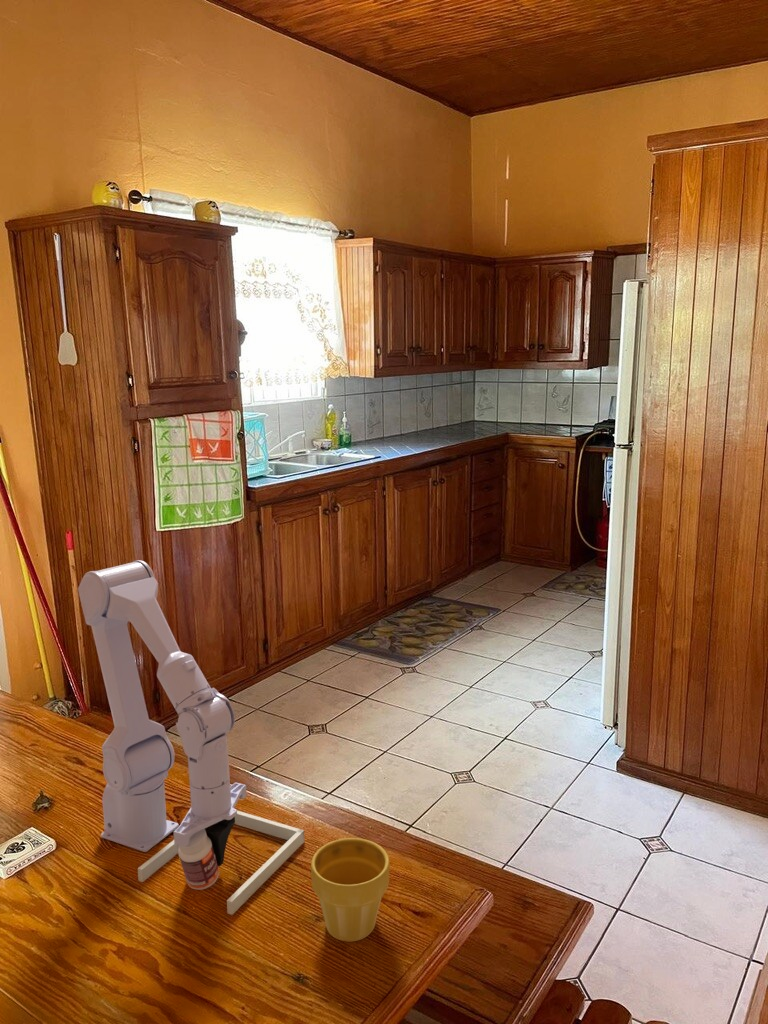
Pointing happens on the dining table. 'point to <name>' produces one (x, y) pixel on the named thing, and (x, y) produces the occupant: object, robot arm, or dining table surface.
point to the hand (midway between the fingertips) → (215, 863)
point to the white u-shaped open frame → (261, 875)
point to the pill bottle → (199, 862)
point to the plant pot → (350, 885)
